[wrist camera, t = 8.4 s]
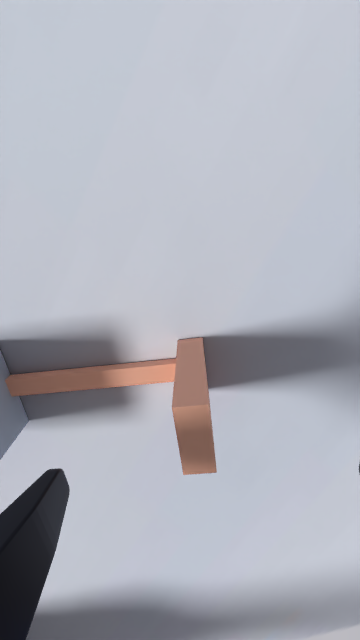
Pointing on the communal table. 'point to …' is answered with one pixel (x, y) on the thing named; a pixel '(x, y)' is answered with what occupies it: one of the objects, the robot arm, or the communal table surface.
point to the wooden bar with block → (185, 371)
